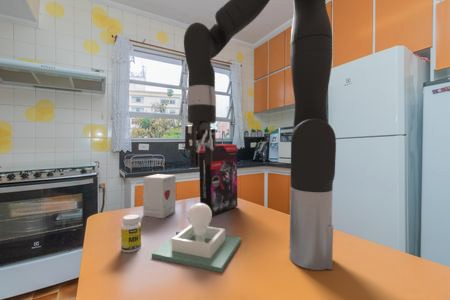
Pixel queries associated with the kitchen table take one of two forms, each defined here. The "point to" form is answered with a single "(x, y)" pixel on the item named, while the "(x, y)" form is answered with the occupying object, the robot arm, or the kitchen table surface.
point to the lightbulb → (199, 220)
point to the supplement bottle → (131, 233)
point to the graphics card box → (219, 178)
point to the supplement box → (158, 195)
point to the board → (199, 249)
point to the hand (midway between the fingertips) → (201, 165)
